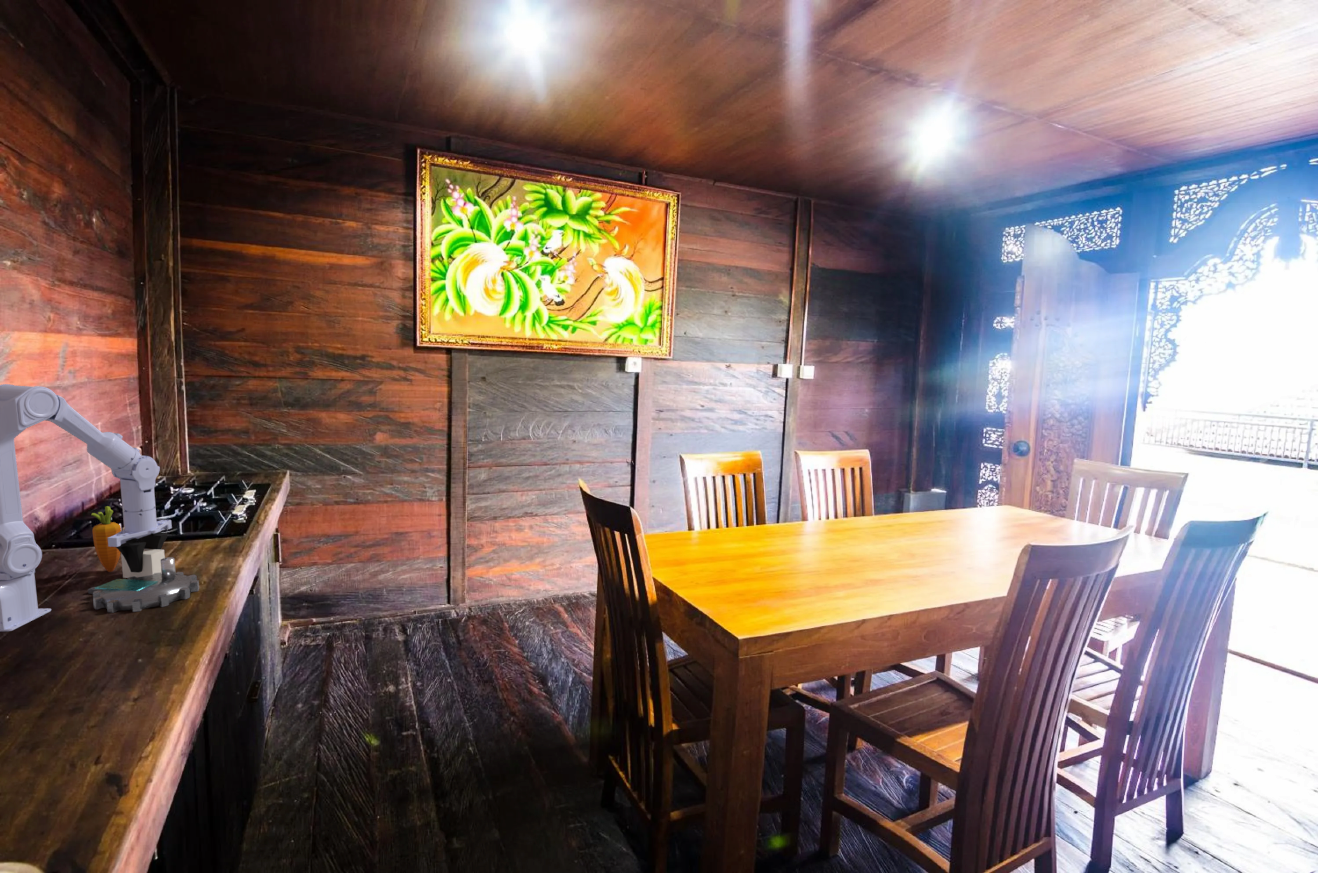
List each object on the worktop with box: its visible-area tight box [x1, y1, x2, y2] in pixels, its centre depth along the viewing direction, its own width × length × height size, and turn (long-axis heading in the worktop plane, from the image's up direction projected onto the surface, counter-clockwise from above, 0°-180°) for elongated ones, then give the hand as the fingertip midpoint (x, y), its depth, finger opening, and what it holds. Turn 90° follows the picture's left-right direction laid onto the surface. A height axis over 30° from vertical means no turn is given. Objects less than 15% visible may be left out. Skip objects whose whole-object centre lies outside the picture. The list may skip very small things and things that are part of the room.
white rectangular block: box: [120, 549, 166, 579], centre depth 149 cm, size 7×4×6 cm, turn 86°
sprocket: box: [92, 556, 200, 614], centre depth 138 cm, size 17×17×6 cm
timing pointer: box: [87, 586, 103, 595], centre depth 139 cm, size 3×1×1 cm, turn 86°
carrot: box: [90, 505, 122, 573], centre depth 150 cm, size 5×5×15 cm
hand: (144, 568), depth 149 cm, fingers closed on white rectangular block, 3 cm apart
